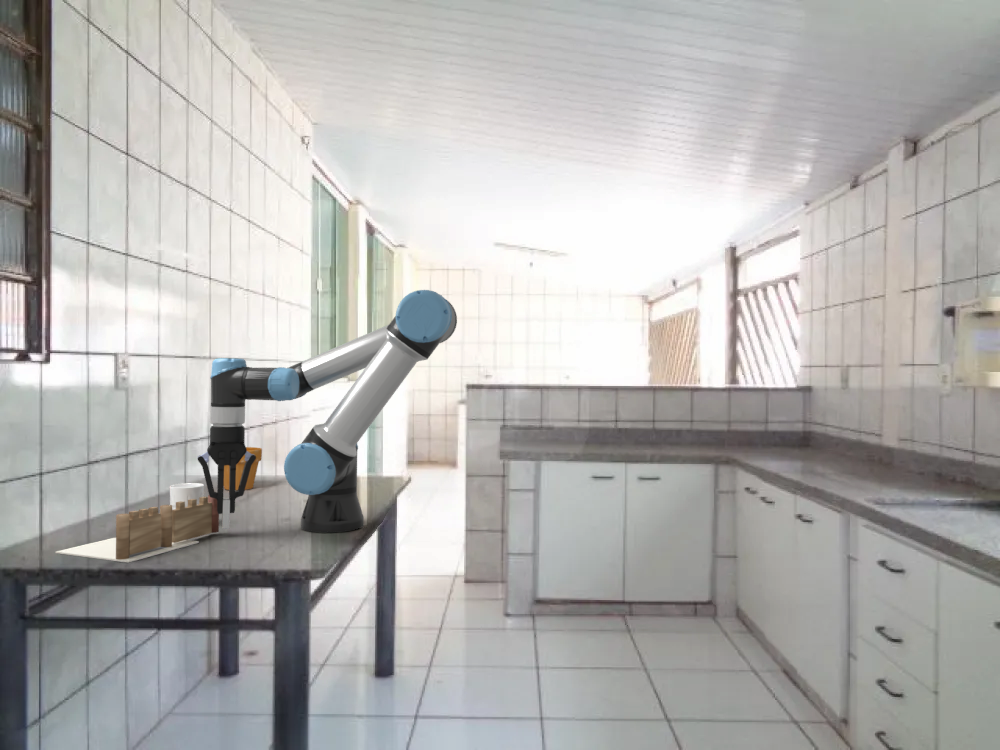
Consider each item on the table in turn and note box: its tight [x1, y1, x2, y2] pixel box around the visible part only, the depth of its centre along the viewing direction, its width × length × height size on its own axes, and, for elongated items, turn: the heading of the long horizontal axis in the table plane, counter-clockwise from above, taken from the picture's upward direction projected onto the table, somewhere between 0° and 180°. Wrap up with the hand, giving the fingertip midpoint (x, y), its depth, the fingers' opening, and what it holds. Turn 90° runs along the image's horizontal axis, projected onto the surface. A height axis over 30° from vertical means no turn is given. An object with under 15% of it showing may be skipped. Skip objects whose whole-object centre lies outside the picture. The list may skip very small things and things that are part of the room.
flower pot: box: [224, 446, 263, 491], centre depth 243 cm, size 14×14×13 cm
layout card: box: [54, 536, 200, 563], centre depth 159 cm, size 20×19×1 cm
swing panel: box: [172, 494, 220, 543], centre depth 167 cm, size 2×13×8 cm, turn 159°
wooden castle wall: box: [115, 504, 172, 560], centre depth 154 cm, size 2×14×9 cm, turn 159°
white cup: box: [169, 482, 205, 510], centre depth 182 cm, size 8×8×10 cm
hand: (225, 527), depth 171 cm, fingers closed
